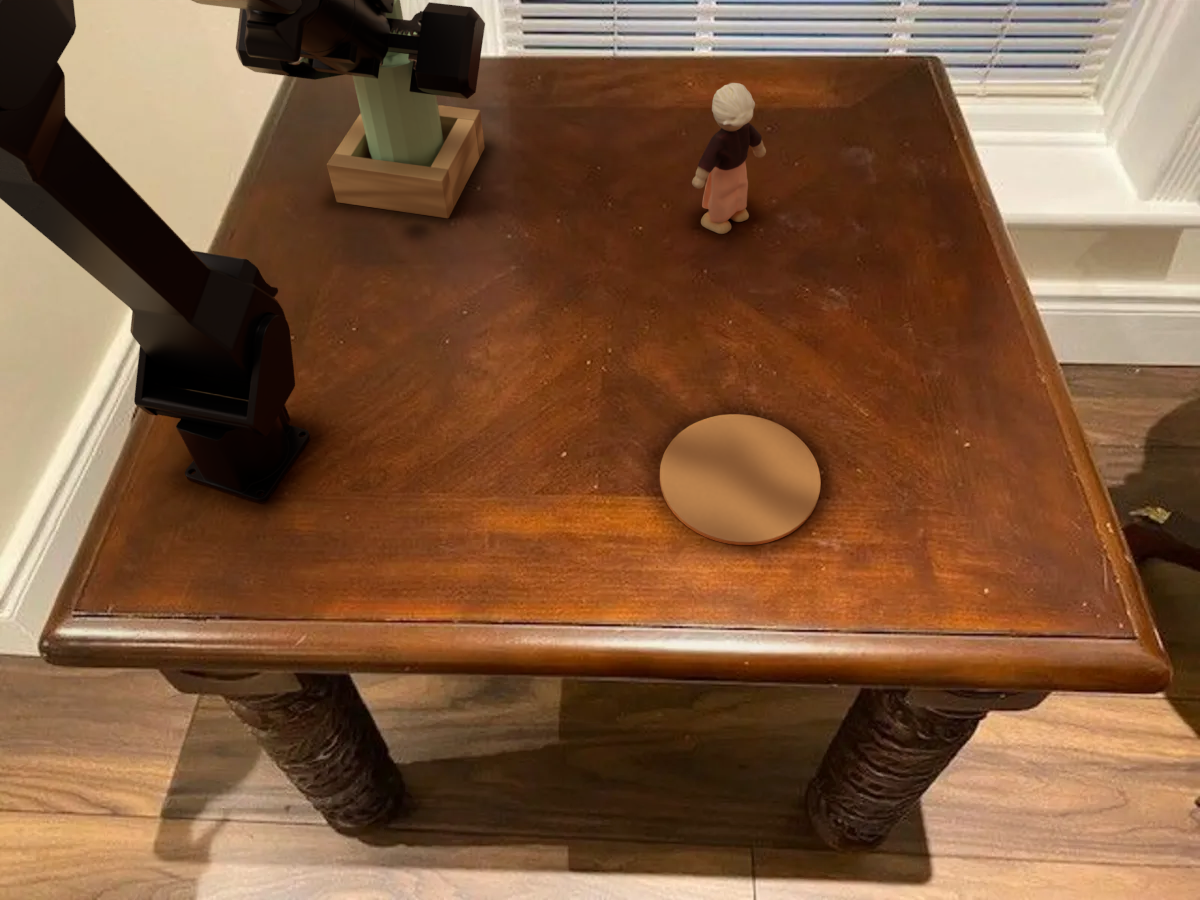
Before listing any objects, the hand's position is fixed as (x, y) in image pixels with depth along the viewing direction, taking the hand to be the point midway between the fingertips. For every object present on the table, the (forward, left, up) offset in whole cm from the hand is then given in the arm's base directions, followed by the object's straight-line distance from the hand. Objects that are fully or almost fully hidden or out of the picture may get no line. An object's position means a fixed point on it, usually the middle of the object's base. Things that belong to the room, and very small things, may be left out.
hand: (400, 69), depth 86 cm
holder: (-1, 0, -10) cm, 10 cm away
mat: (-24, -37, -10) cm, 45 cm away
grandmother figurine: (+2, -28, -10) cm, 30 cm away
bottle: (-1, 0, -7) cm, 7 cm away
